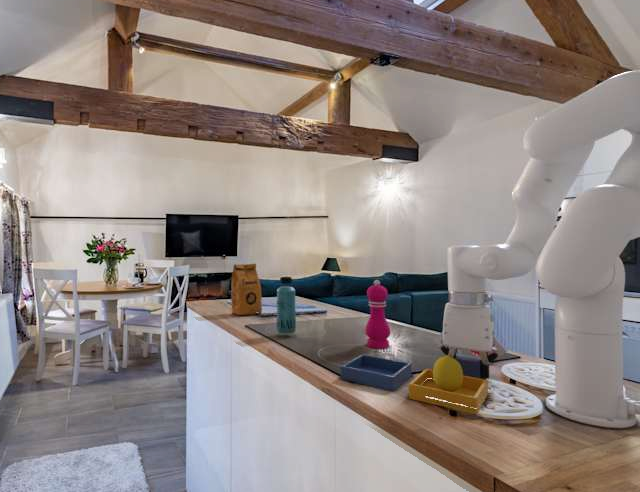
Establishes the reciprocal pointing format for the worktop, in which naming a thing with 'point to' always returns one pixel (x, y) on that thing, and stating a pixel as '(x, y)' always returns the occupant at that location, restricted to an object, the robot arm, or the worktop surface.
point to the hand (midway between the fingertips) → (469, 377)
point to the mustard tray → (465, 395)
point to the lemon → (448, 374)
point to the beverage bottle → (286, 307)
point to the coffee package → (245, 290)
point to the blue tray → (376, 372)
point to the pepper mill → (377, 317)
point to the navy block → (469, 365)
